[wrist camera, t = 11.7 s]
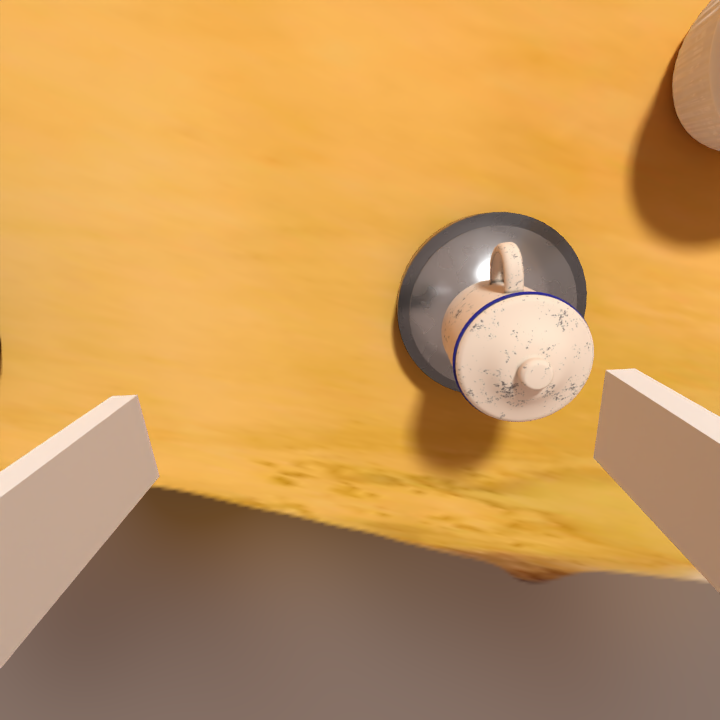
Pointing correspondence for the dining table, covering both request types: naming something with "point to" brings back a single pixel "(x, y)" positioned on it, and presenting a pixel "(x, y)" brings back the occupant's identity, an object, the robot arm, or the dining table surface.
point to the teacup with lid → (515, 344)
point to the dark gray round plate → (477, 278)
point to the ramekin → (700, 78)
